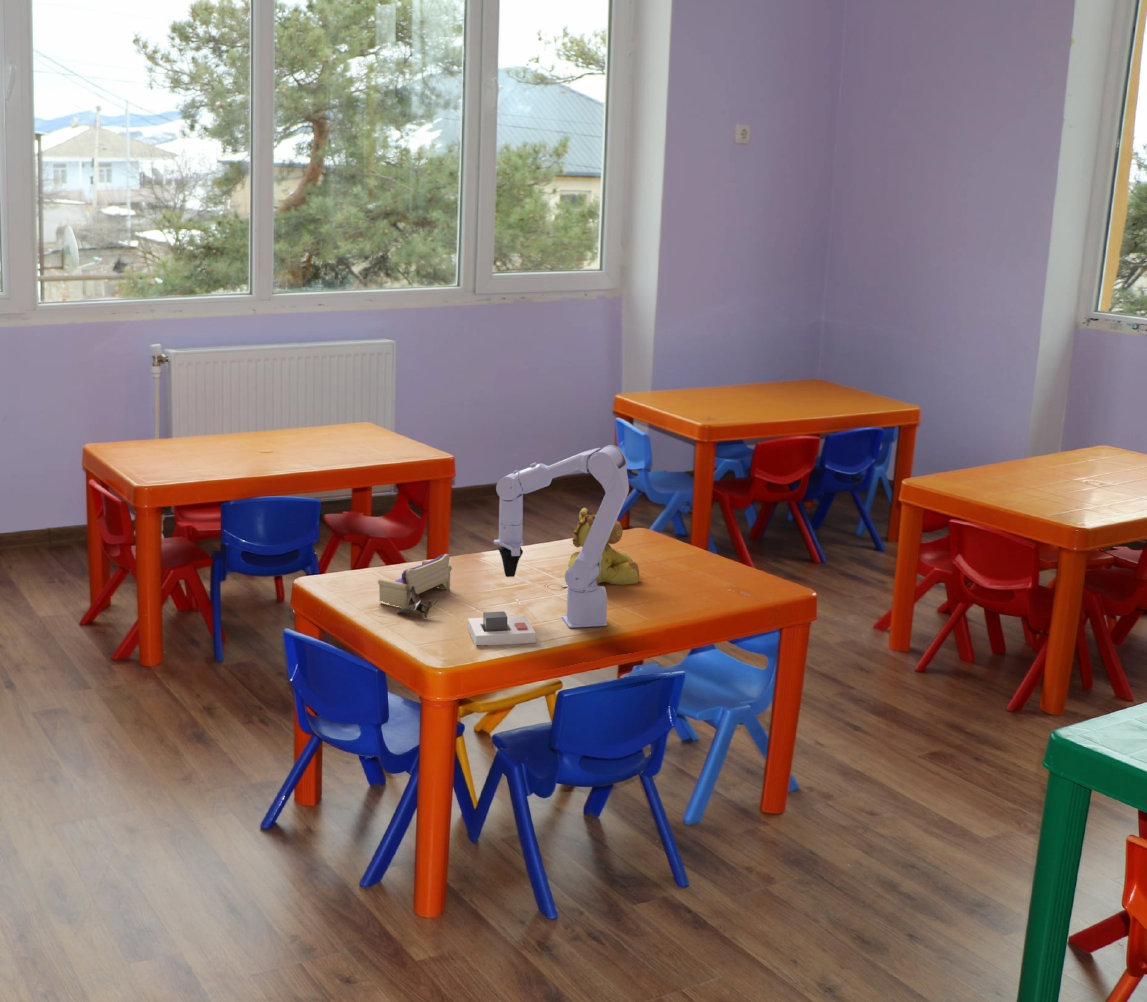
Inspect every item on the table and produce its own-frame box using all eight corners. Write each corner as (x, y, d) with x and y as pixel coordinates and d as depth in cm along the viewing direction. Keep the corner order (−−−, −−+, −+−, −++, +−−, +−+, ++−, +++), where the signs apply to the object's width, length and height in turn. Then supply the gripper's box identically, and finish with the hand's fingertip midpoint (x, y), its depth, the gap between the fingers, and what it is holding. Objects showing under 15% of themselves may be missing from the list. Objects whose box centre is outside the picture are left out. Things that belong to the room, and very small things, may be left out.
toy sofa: (424, 583, 338) (424, 546, 335) (452, 589, 334) (452, 551, 331) (377, 605, 320) (376, 566, 317) (405, 611, 316) (405, 572, 313)
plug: (503, 631, 302) (504, 611, 300) (507, 637, 298) (507, 617, 297) (483, 632, 300) (483, 612, 299) (485, 638, 297) (486, 618, 295)
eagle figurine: (442, 608, 315) (414, 595, 319) (435, 590, 309) (407, 577, 314) (422, 630, 311) (395, 616, 315) (415, 613, 306) (387, 598, 310)
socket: (525, 625, 308) (525, 613, 307) (535, 642, 297) (535, 630, 296) (467, 628, 305) (467, 616, 304) (475, 646, 293) (475, 633, 293)
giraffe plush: (652, 579, 346) (655, 511, 342) (594, 598, 330) (596, 526, 325) (597, 563, 360) (599, 497, 355) (538, 580, 343) (539, 511, 338)
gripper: (489, 515, 317) (488, 568, 320) (499, 531, 303) (499, 585, 307) (517, 514, 319) (516, 566, 322) (529, 530, 305) (527, 584, 308)
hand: (509, 576), depth 315 cm, fingers closed
